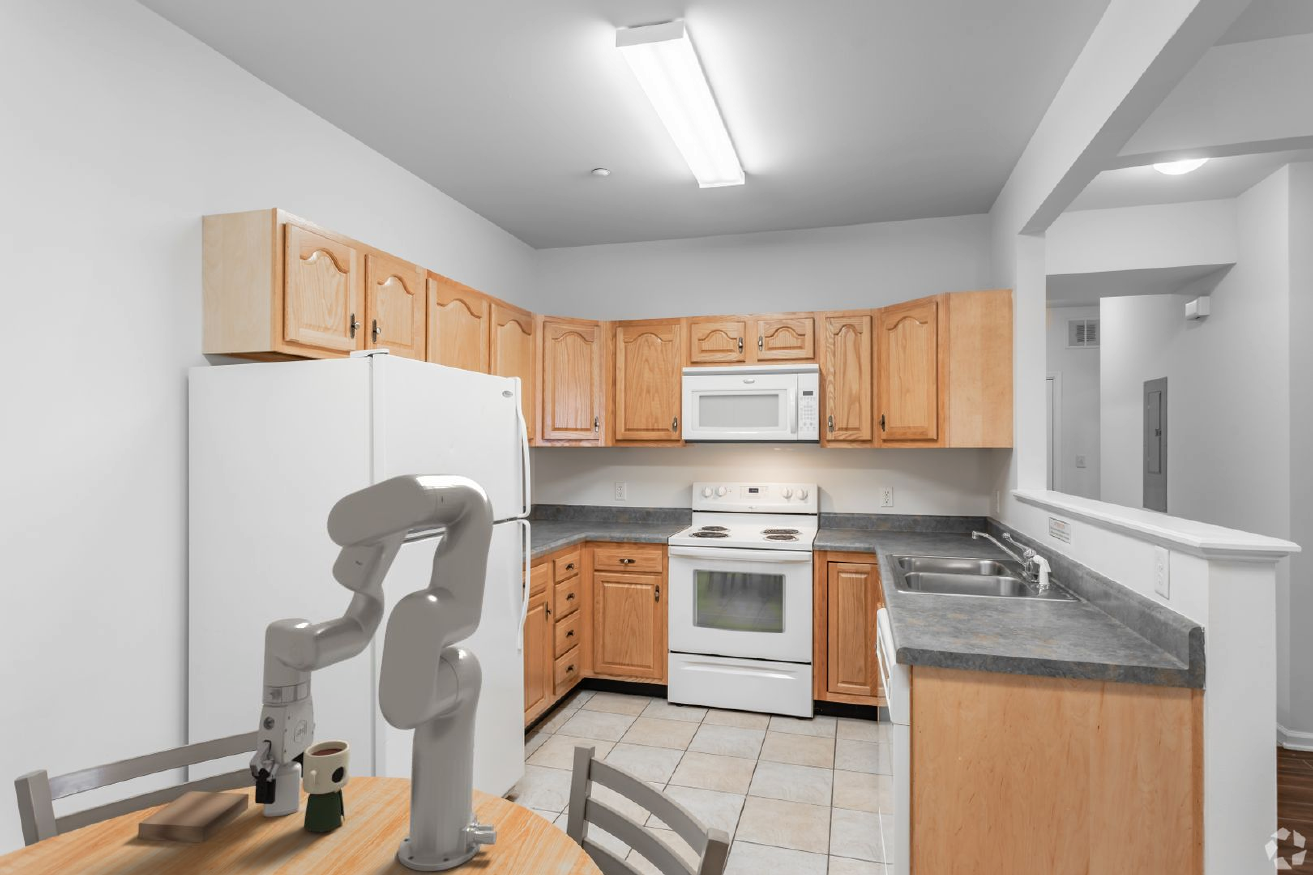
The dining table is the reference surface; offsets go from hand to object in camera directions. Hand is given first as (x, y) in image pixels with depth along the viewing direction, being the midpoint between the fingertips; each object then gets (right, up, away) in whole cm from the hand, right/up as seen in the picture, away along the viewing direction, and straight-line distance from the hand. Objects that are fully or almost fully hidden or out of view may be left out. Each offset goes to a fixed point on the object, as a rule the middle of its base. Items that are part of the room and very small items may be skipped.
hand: (282, 789), depth 119 cm
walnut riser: (-12, -3, -4) cm, 14 cm away
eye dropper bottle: (0, -4, 0) cm, 4 cm away
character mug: (+10, -4, -5) cm, 11 cm away
